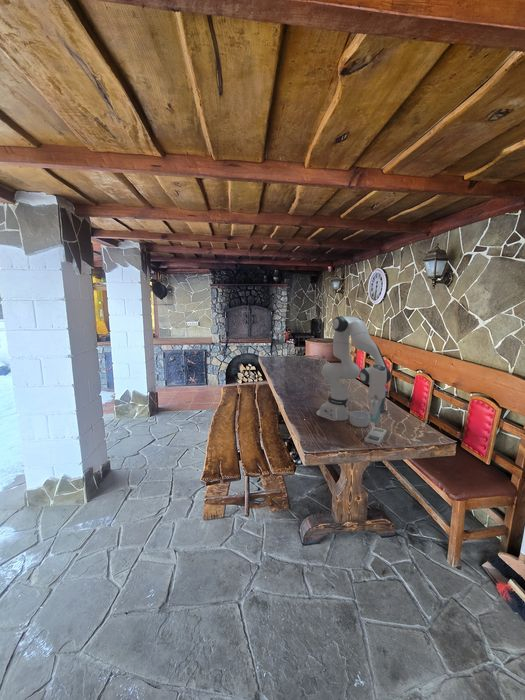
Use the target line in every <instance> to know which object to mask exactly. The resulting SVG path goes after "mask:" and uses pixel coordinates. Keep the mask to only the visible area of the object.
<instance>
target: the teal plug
mask: <svg viewBox="0 0 525 700" xmlns="http://www.w3.org/2000/svg"><path fill="white" fill-rule="evenodd" d="M369 415H370V419H369V422H371V423H373V424H379V423H380V417H381V416H380V415H381V413H380V409H379V410H378V412H377V414H376V419H374V418H372V414H369Z"/></svg>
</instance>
